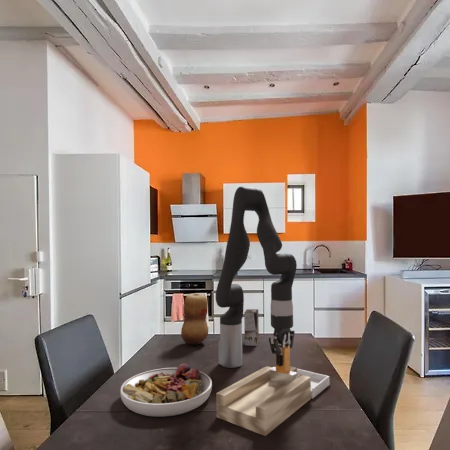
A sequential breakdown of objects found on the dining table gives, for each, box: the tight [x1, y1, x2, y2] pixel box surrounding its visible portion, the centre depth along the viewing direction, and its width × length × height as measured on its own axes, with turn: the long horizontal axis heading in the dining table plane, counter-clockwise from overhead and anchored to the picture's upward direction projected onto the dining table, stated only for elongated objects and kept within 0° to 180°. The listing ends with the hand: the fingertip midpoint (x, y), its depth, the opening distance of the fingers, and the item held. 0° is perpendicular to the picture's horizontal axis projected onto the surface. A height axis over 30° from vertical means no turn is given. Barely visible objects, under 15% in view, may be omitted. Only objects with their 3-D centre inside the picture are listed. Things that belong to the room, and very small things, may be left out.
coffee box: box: [243, 308, 260, 347], centre depth 182 cm, size 9×6×16 cm
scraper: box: [269, 346, 297, 386], centre depth 122 cm, size 9×4×12 cm, turn 51°
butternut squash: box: [180, 292, 209, 345], centre depth 182 cm, size 14×13×25 cm
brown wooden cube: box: [290, 365, 298, 373], centre depth 125 cm, size 4×4×4 cm
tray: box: [297, 368, 330, 399], centre depth 130 cm, size 18×14×3 cm
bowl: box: [120, 362, 213, 417], centre depth 121 cm, size 30×30×8 cm
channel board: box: [215, 366, 312, 437], centre depth 113 cm, size 17×28×7 cm, turn 142°
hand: (282, 363), depth 122 cm, fingers closed on scraper, 3 cm apart
